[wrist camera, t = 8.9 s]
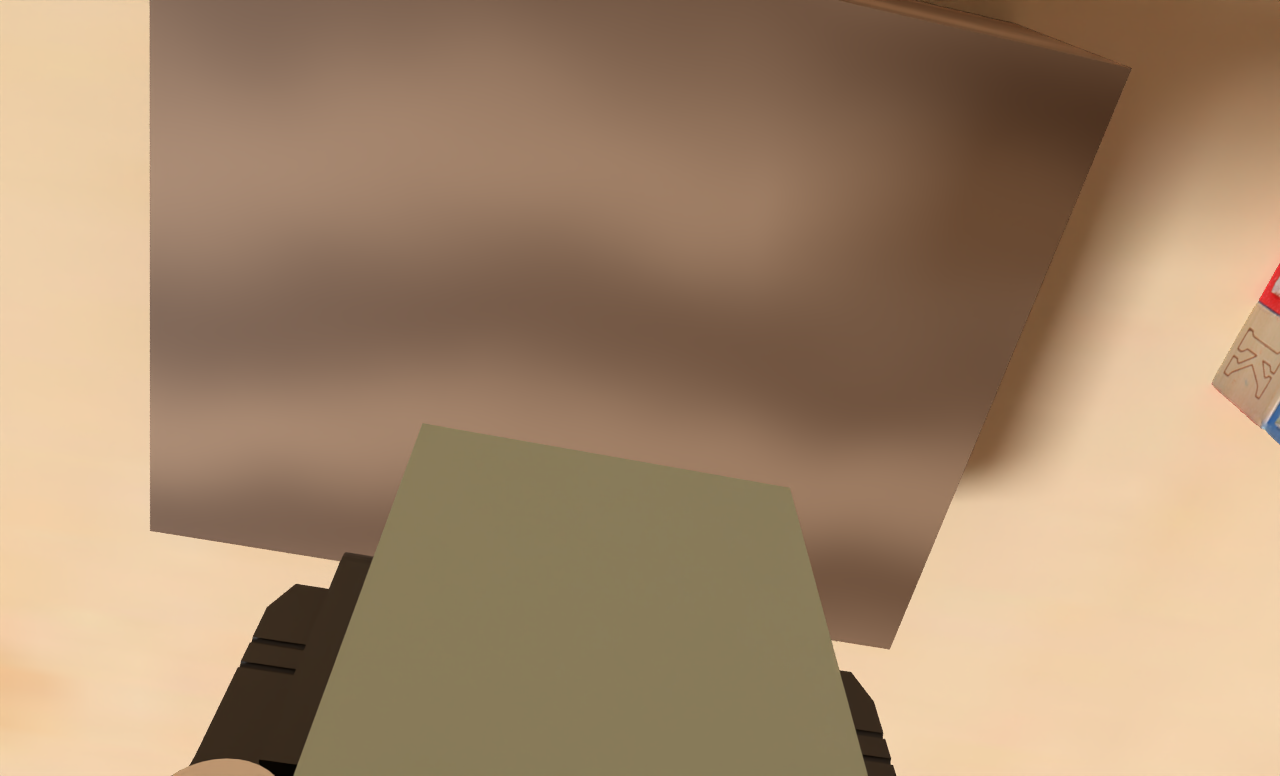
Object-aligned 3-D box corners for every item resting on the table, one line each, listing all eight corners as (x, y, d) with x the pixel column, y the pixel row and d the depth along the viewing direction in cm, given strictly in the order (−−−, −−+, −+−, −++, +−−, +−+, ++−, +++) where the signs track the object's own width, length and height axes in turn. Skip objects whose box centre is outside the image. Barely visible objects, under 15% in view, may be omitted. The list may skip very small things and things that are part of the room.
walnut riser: (265, -152, 25) (149, -160, 19) (1016, 24, 28) (1131, 68, 21) (241, 404, 32) (150, 530, 26) (841, 509, 35) (889, 649, 28)
